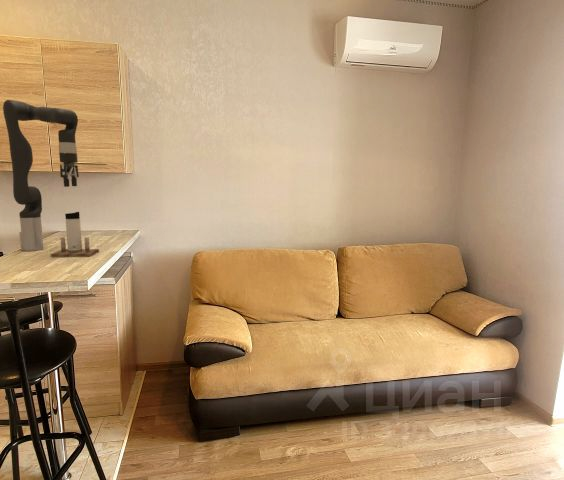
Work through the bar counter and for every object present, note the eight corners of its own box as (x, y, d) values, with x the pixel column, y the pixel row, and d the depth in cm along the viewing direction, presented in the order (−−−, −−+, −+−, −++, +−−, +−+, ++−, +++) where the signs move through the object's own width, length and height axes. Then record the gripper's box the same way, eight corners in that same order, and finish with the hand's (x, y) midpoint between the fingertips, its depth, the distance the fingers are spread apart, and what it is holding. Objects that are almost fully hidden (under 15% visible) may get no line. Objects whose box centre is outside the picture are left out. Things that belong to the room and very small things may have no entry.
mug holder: (51, 257, 181) (49, 239, 180) (62, 252, 193) (61, 235, 192) (90, 256, 183) (88, 239, 182) (99, 251, 195) (97, 235, 194)
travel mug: (76, 252, 184) (73, 212, 181) (65, 252, 186) (61, 212, 182) (85, 250, 190) (82, 211, 187) (74, 249, 192) (71, 211, 188)
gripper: (66, 153, 187) (69, 186, 189) (52, 151, 173) (55, 186, 175) (82, 153, 187) (84, 186, 190) (69, 151, 173) (72, 187, 176)
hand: (70, 186), depth 183 cm, fingers open, 8 cm apart
